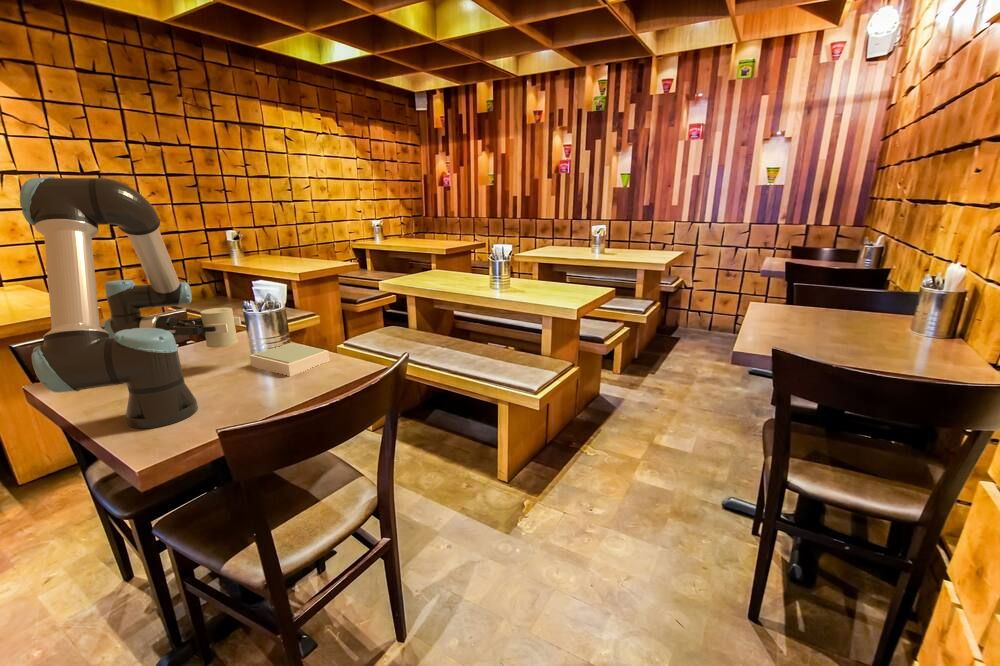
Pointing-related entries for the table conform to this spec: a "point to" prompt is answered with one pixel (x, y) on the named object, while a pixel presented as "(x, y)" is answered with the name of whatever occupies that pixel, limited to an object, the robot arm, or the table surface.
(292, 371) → the block
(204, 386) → the table surface
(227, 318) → the can
